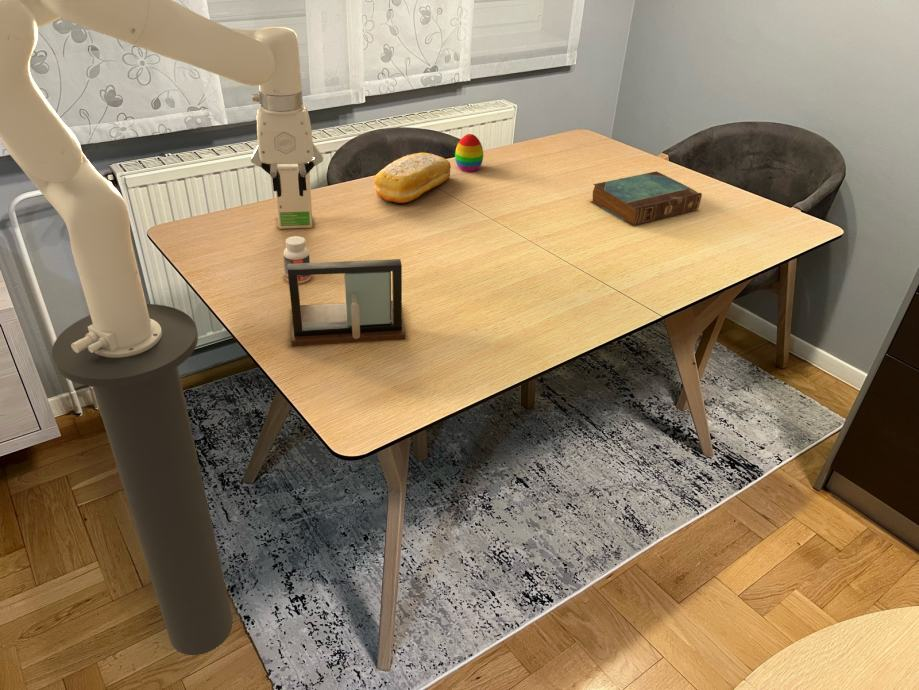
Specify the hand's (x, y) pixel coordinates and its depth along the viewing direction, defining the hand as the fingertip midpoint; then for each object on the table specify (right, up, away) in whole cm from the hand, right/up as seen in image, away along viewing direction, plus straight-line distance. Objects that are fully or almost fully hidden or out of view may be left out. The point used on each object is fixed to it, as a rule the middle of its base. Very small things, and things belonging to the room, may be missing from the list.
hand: (290, 193), depth 144 cm
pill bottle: (-1, -16, +11) cm, 19 cm away
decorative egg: (+36, +21, +68) cm, 80 cm away
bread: (+21, +12, +54) cm, 59 cm away
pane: (+17, -28, -10) cm, 34 cm away
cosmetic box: (-6, -1, +33) cm, 34 cm away
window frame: (+12, -26, -3) cm, 29 cm away
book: (+83, +7, +51) cm, 98 cm away
